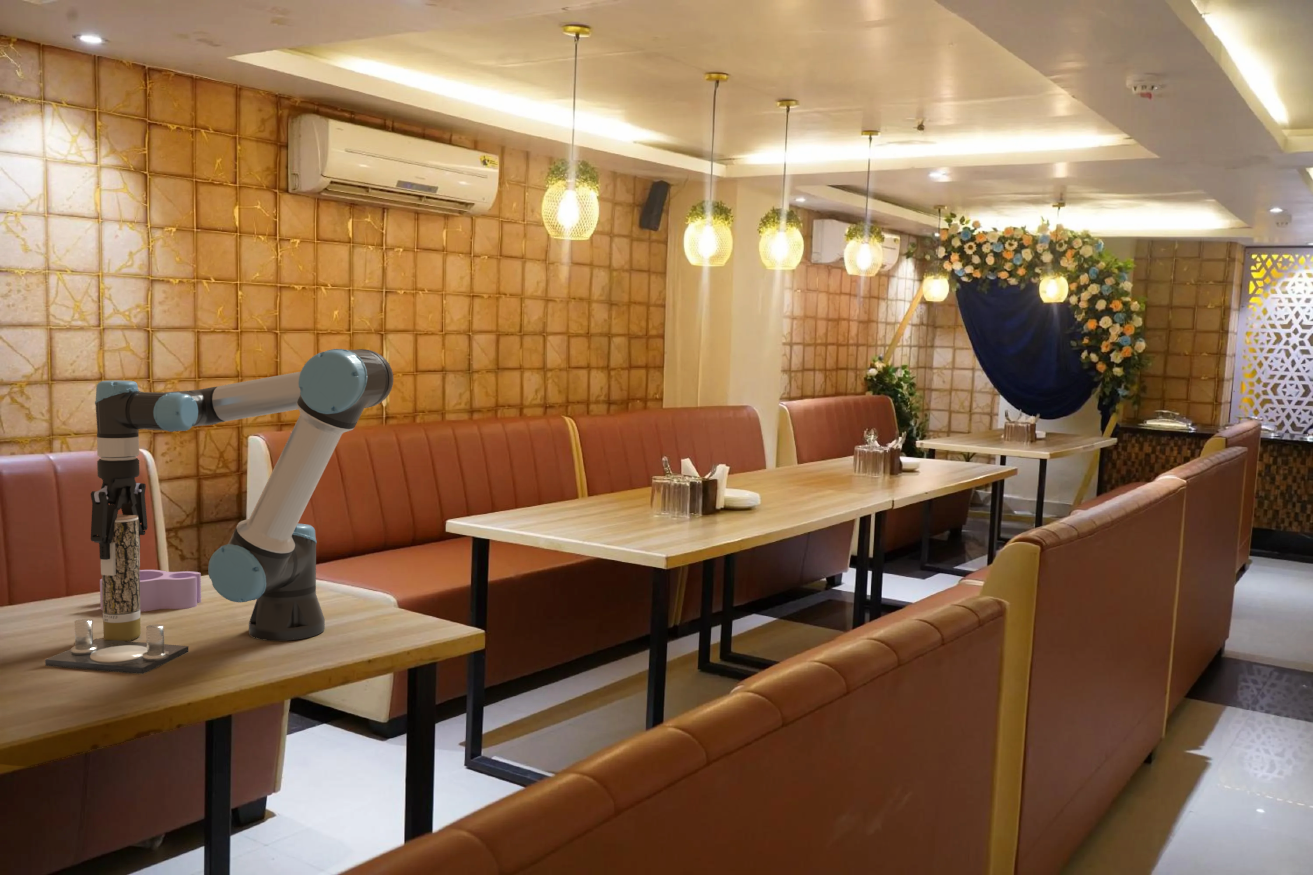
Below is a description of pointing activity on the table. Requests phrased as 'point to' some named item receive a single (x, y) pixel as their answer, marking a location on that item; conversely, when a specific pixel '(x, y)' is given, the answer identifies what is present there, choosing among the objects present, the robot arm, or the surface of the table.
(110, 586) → the paper tube
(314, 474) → the robot arm
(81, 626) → the collar post
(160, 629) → the collar post
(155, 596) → the clip
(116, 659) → the white dome cap
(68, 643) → the table surface
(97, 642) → the plate
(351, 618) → the table surface
